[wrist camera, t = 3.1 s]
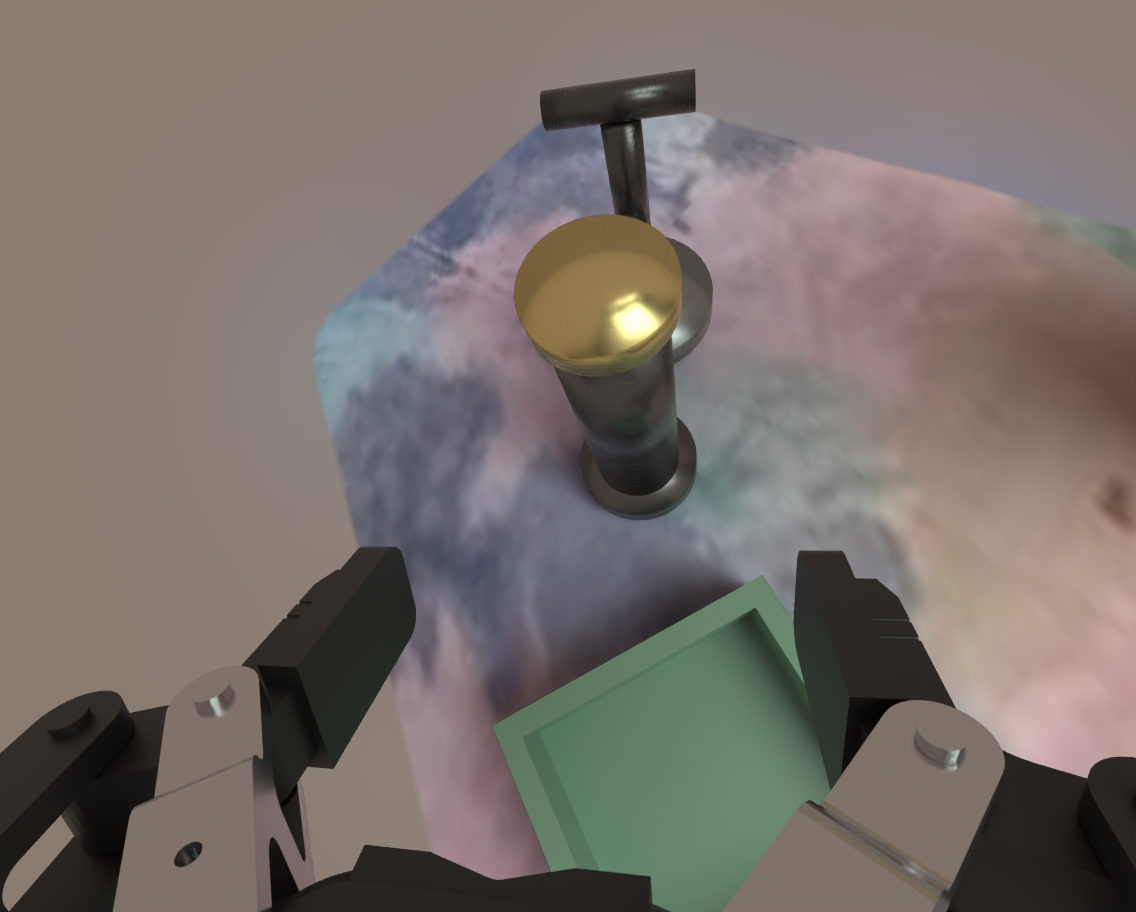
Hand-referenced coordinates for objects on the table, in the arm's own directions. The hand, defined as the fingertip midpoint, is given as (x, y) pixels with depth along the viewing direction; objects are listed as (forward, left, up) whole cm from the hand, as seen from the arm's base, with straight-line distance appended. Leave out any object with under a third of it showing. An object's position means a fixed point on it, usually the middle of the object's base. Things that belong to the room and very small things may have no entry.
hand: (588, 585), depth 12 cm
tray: (0, +6, -13) cm, 14 cm away
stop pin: (-4, -6, -13) cm, 14 cm away
